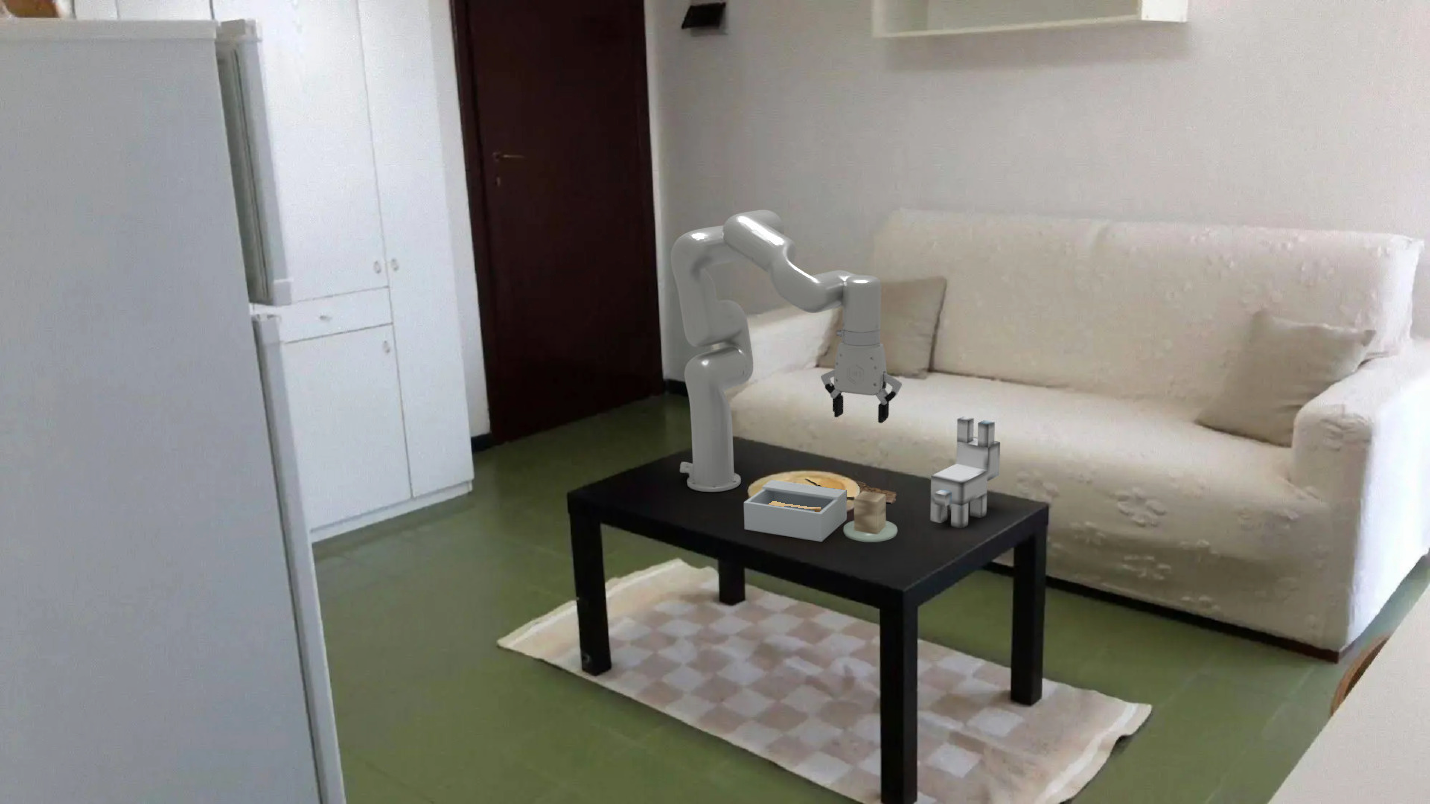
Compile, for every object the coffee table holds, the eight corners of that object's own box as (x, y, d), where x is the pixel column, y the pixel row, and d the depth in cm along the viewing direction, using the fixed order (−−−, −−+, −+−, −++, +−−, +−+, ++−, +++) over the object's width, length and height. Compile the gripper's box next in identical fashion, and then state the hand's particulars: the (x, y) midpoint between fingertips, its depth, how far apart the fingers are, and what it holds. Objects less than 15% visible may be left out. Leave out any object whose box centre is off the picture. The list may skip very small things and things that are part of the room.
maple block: (854, 530, 237) (853, 498, 235) (863, 522, 241) (863, 491, 239) (877, 534, 235) (877, 502, 233) (885, 525, 239) (885, 494, 237)
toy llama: (924, 523, 241) (925, 433, 236) (967, 500, 254) (969, 413, 248) (955, 532, 236) (956, 439, 231) (998, 507, 249) (1000, 419, 243)
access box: (744, 529, 242) (743, 499, 241) (772, 507, 254) (771, 479, 252) (821, 541, 234) (821, 511, 232) (846, 519, 246) (846, 490, 244)
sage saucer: (835, 537, 236) (835, 533, 236) (855, 519, 245) (855, 515, 245) (886, 545, 231) (886, 541, 231) (904, 526, 240) (904, 523, 240)
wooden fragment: (909, 498, 257) (909, 494, 257) (876, 511, 250) (876, 506, 250) (825, 473, 276) (825, 469, 276) (793, 484, 269) (793, 480, 269)
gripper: (814, 337, 233) (814, 418, 237) (895, 345, 224) (893, 428, 229) (829, 329, 239) (829, 408, 244) (908, 337, 231) (906, 418, 235)
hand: (860, 418), depth 236 cm, fingers open, 9 cm apart
